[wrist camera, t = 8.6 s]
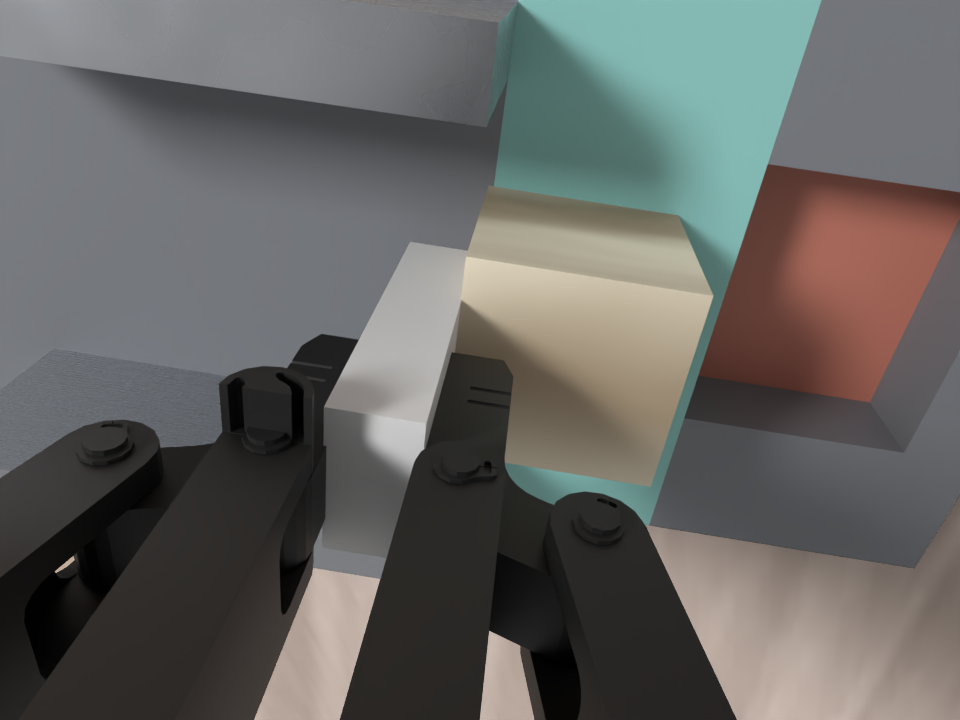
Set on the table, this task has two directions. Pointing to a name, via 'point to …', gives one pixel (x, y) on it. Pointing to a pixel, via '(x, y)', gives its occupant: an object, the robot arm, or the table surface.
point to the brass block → (584, 327)
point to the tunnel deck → (457, 204)
